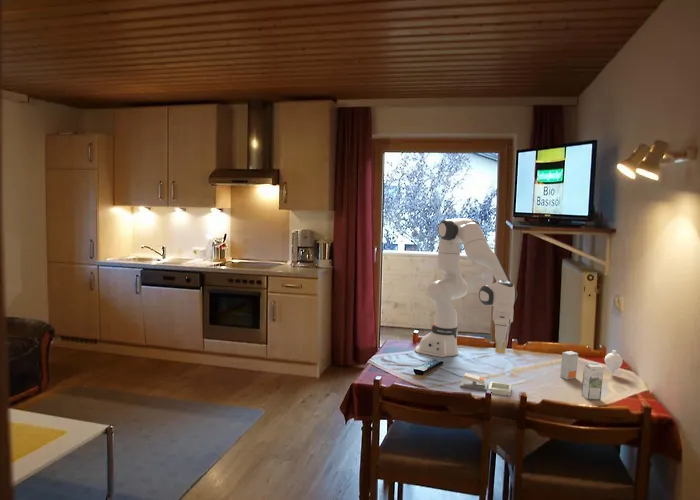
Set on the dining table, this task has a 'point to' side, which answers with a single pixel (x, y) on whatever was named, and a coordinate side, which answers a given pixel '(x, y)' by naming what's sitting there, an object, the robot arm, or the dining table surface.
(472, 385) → the switch base
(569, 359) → the skincare box
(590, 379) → the syrup box
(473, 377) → the rocker
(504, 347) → the lockout cap
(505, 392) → the socket
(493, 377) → the dining table surface
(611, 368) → the spinning top
